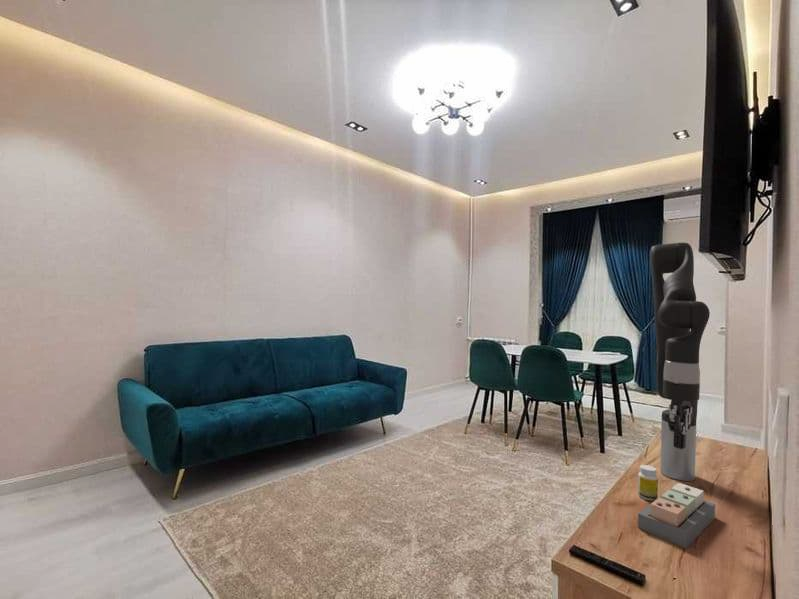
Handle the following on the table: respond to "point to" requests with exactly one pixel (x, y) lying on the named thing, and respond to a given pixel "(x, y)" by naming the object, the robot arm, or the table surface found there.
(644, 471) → the supplement bottle
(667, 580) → the table surface
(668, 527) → the well board
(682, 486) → the tile one
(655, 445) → the table surface
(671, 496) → the tile two
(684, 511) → the tile three
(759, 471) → the table surface
